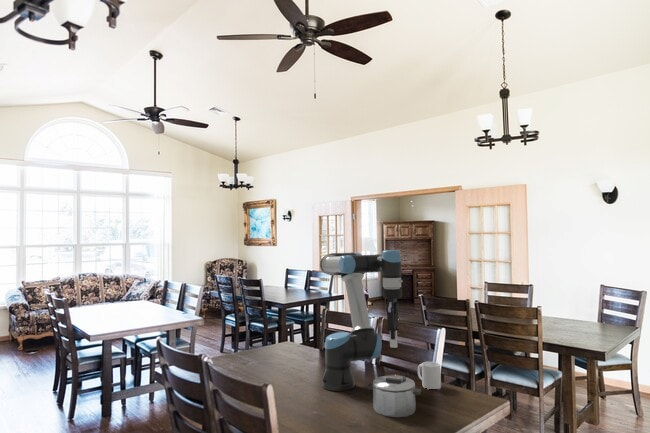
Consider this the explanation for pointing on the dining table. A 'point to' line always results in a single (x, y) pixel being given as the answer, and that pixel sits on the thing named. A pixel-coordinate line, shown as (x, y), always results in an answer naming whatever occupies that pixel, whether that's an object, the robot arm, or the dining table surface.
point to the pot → (394, 401)
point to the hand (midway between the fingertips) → (393, 347)
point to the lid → (394, 383)
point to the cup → (430, 375)
